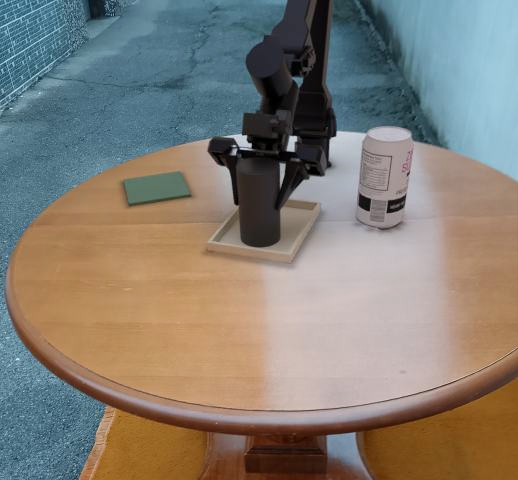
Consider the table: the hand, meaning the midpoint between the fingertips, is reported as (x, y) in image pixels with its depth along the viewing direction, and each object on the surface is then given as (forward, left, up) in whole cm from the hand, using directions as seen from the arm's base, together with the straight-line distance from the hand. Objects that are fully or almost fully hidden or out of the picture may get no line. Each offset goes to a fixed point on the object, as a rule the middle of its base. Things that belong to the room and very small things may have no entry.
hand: (256, 207), depth 86 cm
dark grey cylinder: (-1, -1, -6) cm, 6 cm away
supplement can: (-23, -1, -7) cm, 24 cm away
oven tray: (-3, -4, -7) cm, 8 cm away
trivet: (+13, -28, -7) cm, 32 cm away
